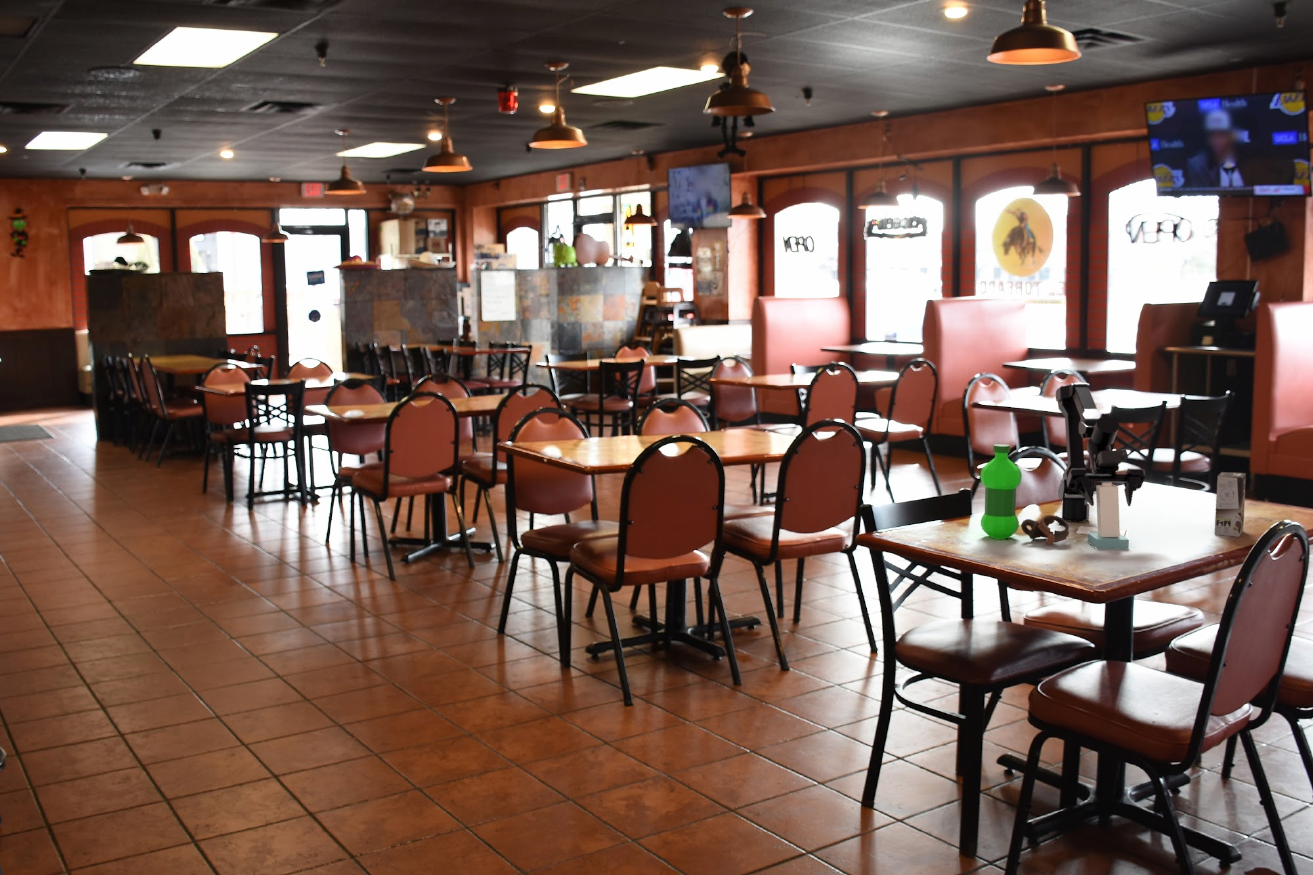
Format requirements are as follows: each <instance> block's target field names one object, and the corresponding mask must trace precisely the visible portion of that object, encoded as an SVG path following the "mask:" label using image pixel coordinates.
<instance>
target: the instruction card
mask: <svg viewBox="0 0 1313 875" xmlns="http://www.w3.org/2000/svg"><path fill="white" fill-rule="evenodd" d="M1126 532H1127V529H1121V528H1120V534H1121V535H1123V536H1124V537H1125V536H1126V535H1125V534H1126ZM1088 533H1098V527H1094V526H1082V525H1081V526H1080V525H1079V527H1078V530H1077V531H1076V534H1077V535H1078V534H1079V535H1088Z"/></svg>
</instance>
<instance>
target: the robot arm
mask: <svg viewBox="0 0 1313 875" xmlns="http://www.w3.org/2000/svg"><path fill="white" fill-rule="evenodd" d="M1055 400H1056V402H1057V406H1058V409H1059V411H1060V413H1061V414H1062V415H1063V416H1064V422H1065V423H1064V424H1065V426H1064V427H1065V440H1066V457H1067V466H1066V468H1065V469H1064V472H1063V473H1062V479H1061V480H1060V484H1059V486H1058V489H1057V495H1058V496H1057V497H1058V498H1059V499H1060V500H1061V501H1062V504H1061V505H1062V509H1061V518H1062V519H1064V520H1065V521H1066V522H1072V523H1075V522H1076V523H1084V522H1086V521H1088V520H1089V519H1090V506H1091V507H1093V506H1094V505H1095V500H1094V494H1095V493H1094V492H1095V489H1096V482H1099V483H1103V482H1111V483H1123V485H1124V487H1125V488H1124V489H1123V490H1124V496H1125V500H1126V504H1127V506H1128V507H1131V505H1132V500H1133V494H1134V492H1136V491H1137V490H1140V489H1141V488H1142V486H1143V483H1144V481H1145V478H1146V477H1147V476H1146V472H1145V470H1144V469H1143V468H1127V470H1126V472H1125V473H1119V474H1118V473H1117V472H1118V471H1119V469H1120V466H1119V465H1120V464H1121V463H1126V462H1127V461H1128V456H1129V455H1128V452H1127V449H1125V448H1119V449H1118V450H1112V448H1111V445H1113V444H1114V442H1115V439H1116V437H1117V434H1118V431H1119V430H1120V429H1119V428H1120V423H1119V422H1118V421H1117V420H1116V419H1115V418H1114V417H1111V416H1110V413H1103V412H1101V411H1099V410H1098V408H1097V404H1096V403H1095V401H1094V398H1093V395H1092V393H1091V386H1090V383H1087V382H1072V383H1070V384H1067V385H1060V387H1058V388H1057V389H1056V390H1055ZM1085 439H1088V440H1087V443H1086V446H1087V448H1086V449H1087V450H1086V451H1087V453H1088V458H1089V462H1090V465H1089V467H1088V466H1087V464H1086V463H1085V450H1084V448H1085V447H1084V440H1085Z"/></svg>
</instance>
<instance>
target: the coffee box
mask: <svg viewBox="0 0 1313 875" xmlns="http://www.w3.org/2000/svg"><path fill="white" fill-rule="evenodd" d="M1246 481H1247V473H1244V472H1227V471H1226V472H1225V471H1221V472H1220V473H1219V474H1218V475H1217V481H1216V483H1217V484H1216V496H1215V497H1216V499H1215V518H1214V519H1215V520H1214V535H1217V536H1227V537H1234V538H1235V537H1236V538H1237V537H1238V538H1239V537H1241V535H1242V533H1243V531H1244V522H1245V503H1246V502H1245V501H1246V497H1245V496H1246V483H1247V482H1246Z"/></svg>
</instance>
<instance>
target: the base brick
mask: <svg viewBox="0 0 1313 875" xmlns="http://www.w3.org/2000/svg"><path fill="white" fill-rule="evenodd" d="M1088 542H1089V543H1091V544H1090V545H1091V546H1092V545H1093V546H1094V547H1093V546H1092V547H1093V548H1095V547H1096V548H1100V549H1099V550H1129V548H1130V547H1129V545H1130V539H1129V538H1127V536H1126V537H1125V535H1124V536H1123V535H1121V534H1120V537H1100V536H1099V535H1098V533H1088V534H1087V543H1088ZM1089 543H1088V544H1089ZM1096 548H1095V549H1096Z"/></svg>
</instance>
